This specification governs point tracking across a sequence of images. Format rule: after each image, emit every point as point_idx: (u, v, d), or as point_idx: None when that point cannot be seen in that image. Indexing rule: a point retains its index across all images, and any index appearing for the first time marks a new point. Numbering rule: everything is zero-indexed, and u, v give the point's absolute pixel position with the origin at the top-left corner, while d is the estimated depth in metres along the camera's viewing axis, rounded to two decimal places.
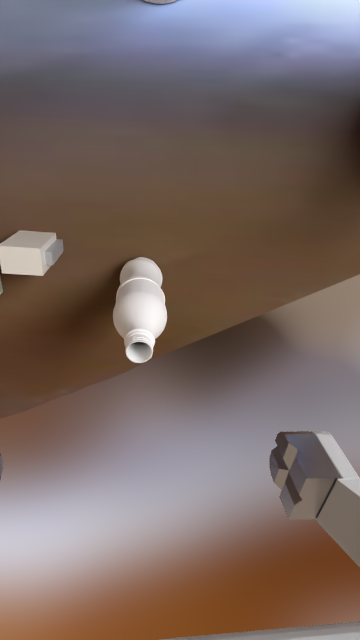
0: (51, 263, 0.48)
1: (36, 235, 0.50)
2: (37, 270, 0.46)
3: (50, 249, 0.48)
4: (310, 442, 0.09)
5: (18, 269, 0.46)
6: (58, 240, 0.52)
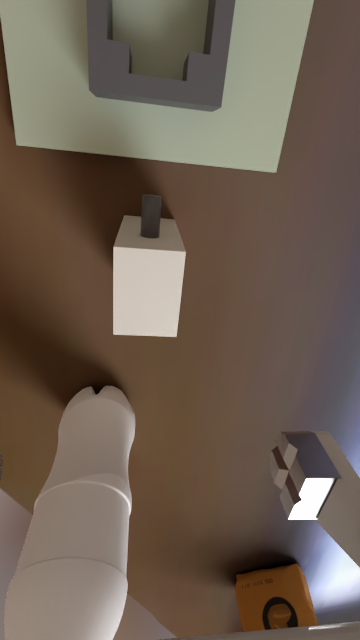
0: None
1: None
2: (125, 325, 0.20)
3: None
4: (310, 442, 0.09)
5: (126, 286, 0.19)
6: None
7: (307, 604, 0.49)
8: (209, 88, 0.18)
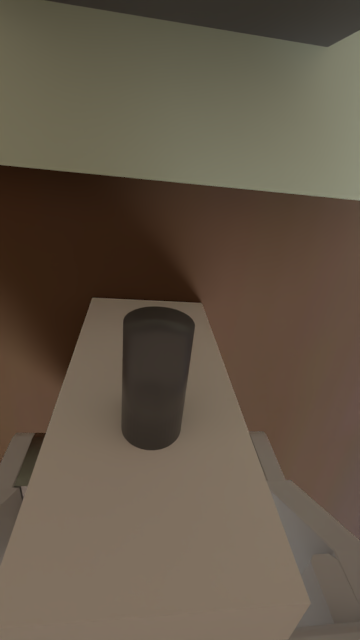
0: None
1: None
2: None
3: None
4: None
5: None
6: None
7: None
8: None
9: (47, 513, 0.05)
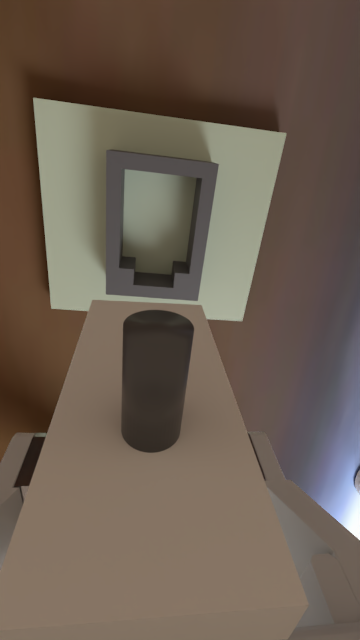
0: None
1: None
2: None
3: None
4: None
5: None
6: None
7: None
8: (189, 291, 0.26)
9: (48, 515, 0.05)
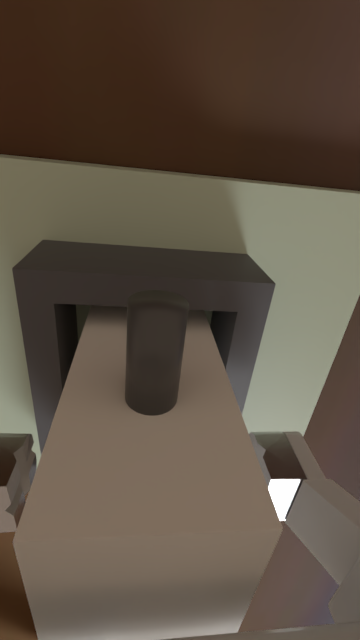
0: None
1: None
2: None
3: None
4: (279, 442, 0.09)
5: (75, 611, 0.06)
6: None
7: None
8: None
9: (63, 461, 0.06)
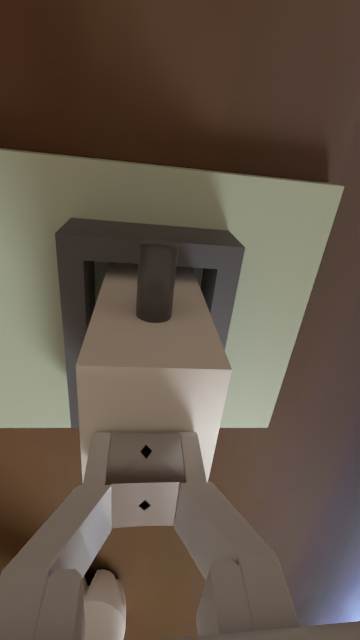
0: None
1: None
2: None
3: None
4: (170, 443, 0.09)
5: None
6: None
7: None
8: None
9: (99, 339, 0.09)
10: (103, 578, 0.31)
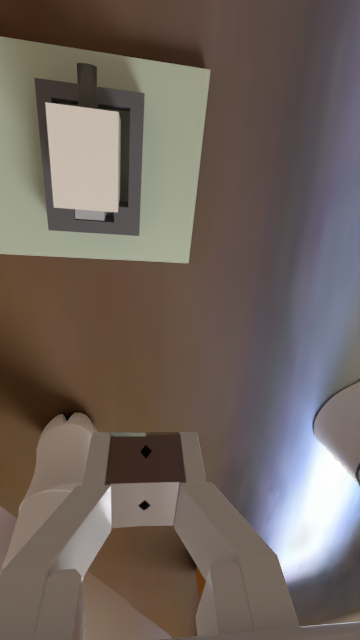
0: (78, 215, 0.23)
1: None
2: (65, 197, 0.20)
3: None
4: (170, 443, 0.09)
5: (62, 150, 0.19)
6: None
7: None
8: (129, 226, 0.27)
9: None
10: (80, 415, 0.41)
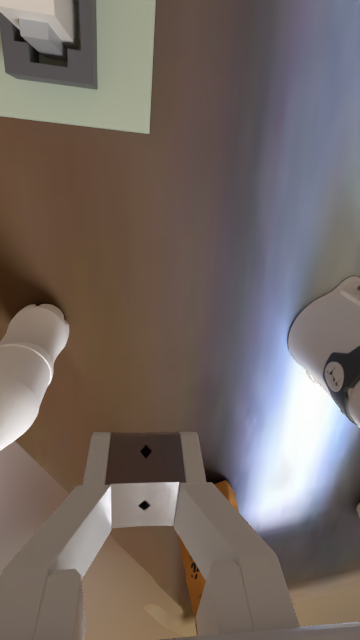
0: (23, 32, 0.24)
1: (72, 6, 0.27)
2: None
3: (52, 36, 0.25)
4: (170, 443, 0.09)
5: None
6: (66, 52, 0.29)
7: None
8: (83, 72, 0.28)
9: None
10: (51, 305, 0.42)
